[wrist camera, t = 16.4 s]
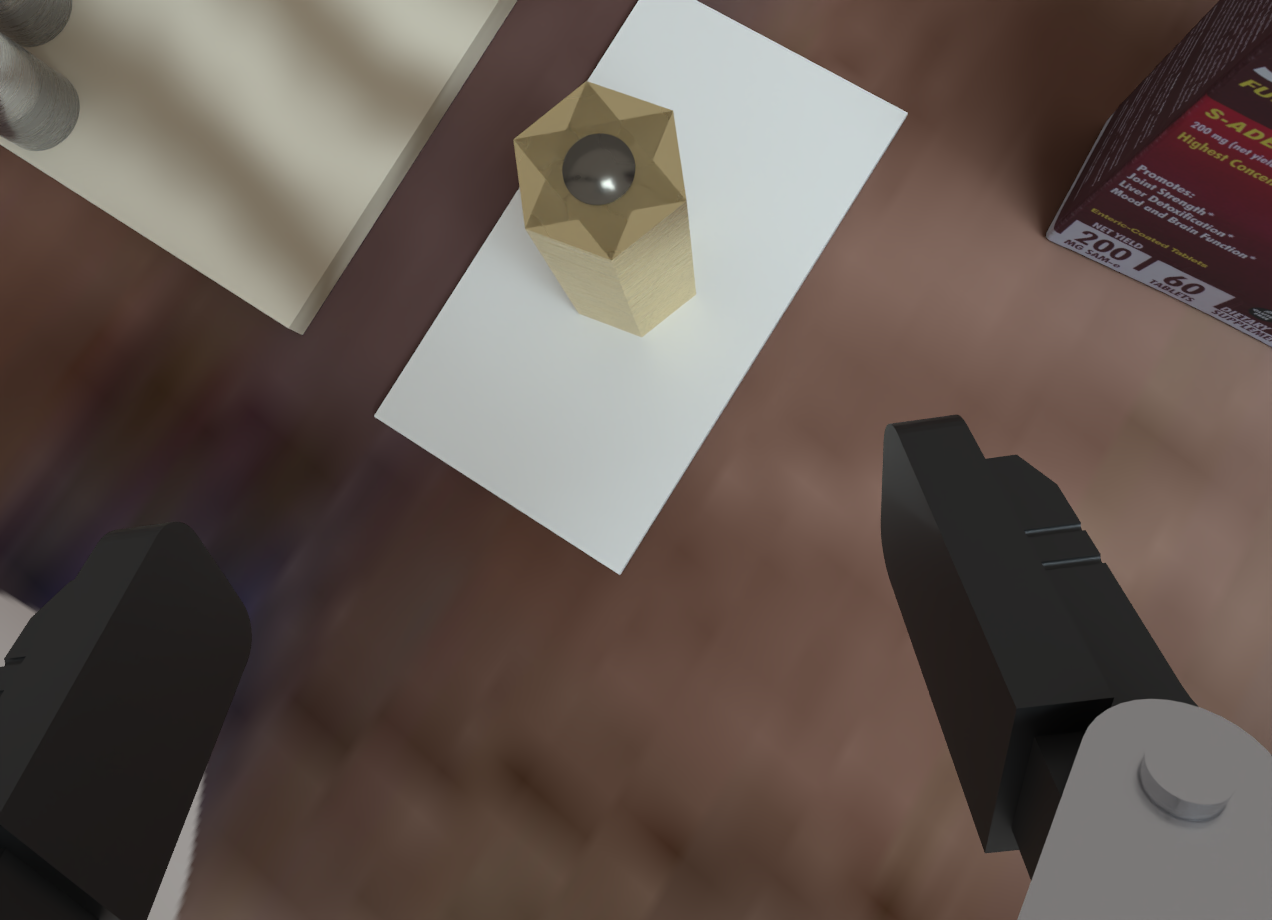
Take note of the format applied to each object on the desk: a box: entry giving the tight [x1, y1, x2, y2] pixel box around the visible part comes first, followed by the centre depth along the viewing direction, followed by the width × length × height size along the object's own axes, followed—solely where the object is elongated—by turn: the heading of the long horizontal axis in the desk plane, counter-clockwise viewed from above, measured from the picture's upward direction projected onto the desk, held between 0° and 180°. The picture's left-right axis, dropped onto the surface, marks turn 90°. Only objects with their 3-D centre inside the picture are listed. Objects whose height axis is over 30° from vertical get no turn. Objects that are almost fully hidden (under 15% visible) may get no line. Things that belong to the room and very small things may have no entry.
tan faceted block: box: [513, 81, 696, 337], centre depth 25 cm, size 5×4×8 cm
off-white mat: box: [374, 0, 908, 575], centre depth 29 cm, size 18×10×1 cm, turn 148°
